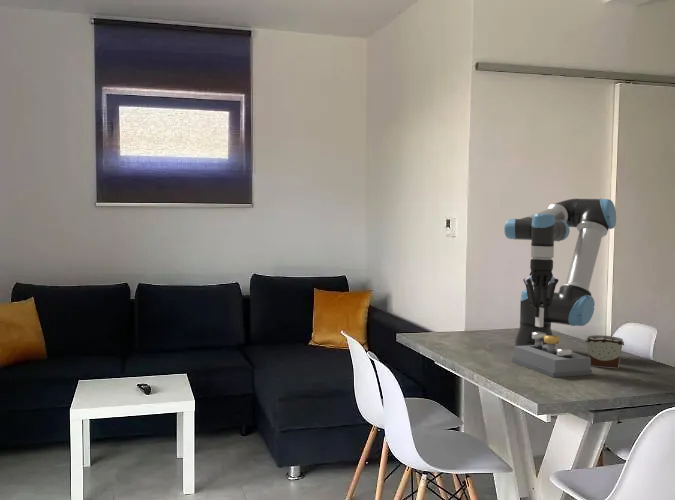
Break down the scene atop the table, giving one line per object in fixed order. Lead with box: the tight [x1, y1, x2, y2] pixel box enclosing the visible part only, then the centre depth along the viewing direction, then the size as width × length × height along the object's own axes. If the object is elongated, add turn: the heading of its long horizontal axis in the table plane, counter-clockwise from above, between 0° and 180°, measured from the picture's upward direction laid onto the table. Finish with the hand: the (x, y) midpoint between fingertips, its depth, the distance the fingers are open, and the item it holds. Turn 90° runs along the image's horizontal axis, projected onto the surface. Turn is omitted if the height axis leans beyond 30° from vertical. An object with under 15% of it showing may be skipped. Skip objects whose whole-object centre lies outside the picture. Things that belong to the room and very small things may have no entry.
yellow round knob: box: [544, 334, 560, 355], centre depth 231 cm, size 5×5×6 cm
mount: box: [511, 345, 593, 378], centre depth 231 cm, size 15×23×6 cm, turn 19°
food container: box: [585, 334, 625, 369], centre depth 237 cm, size 12×6×10 cm, turn 71°
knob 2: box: [557, 347, 573, 358], centre depth 224 cm, size 5×5×6 cm
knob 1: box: [532, 332, 546, 350], centre depth 237 cm, size 5×5×6 cm
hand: (539, 326), depth 237 cm, fingers closed
